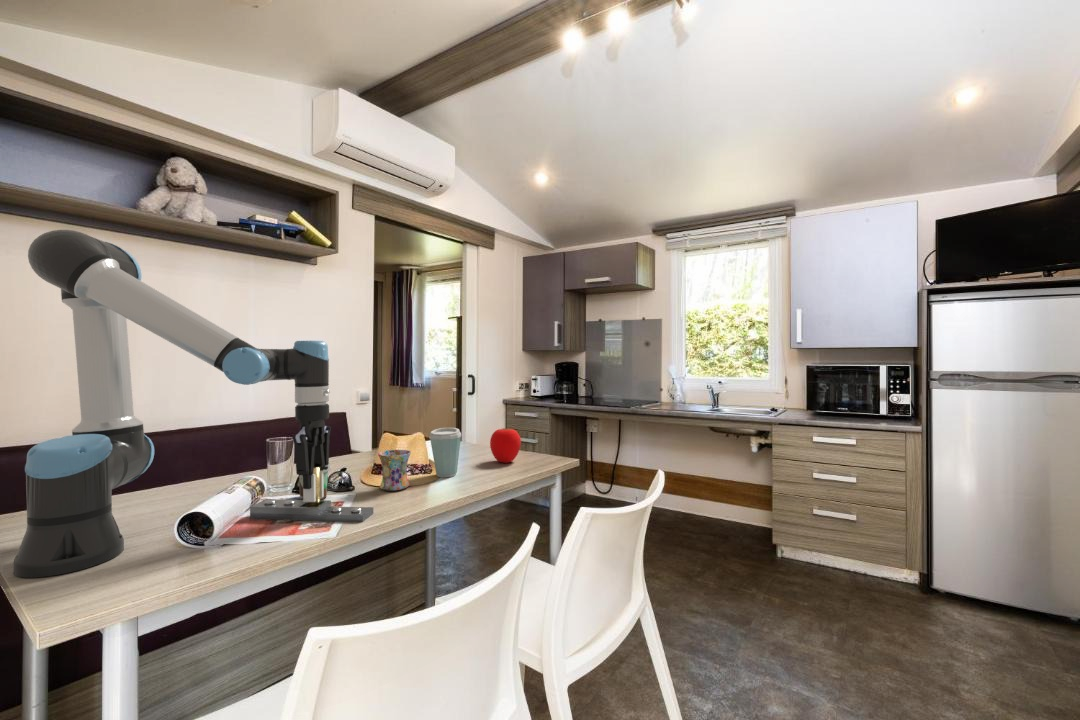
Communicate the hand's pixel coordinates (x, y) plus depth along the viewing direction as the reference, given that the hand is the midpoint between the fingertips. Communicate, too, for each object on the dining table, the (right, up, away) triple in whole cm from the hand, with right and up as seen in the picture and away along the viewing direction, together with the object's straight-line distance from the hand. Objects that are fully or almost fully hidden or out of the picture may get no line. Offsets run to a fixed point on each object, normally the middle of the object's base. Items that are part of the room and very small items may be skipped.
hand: (313, 498), depth 116 cm
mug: (+11, -4, +25) cm, 28 cm away
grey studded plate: (0, -4, 0) cm, 4 cm away
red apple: (+43, -4, +58) cm, 72 cm away
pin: (0, -4, 0) cm, 4 cm away
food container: (-6, -4, +15) cm, 17 cm away
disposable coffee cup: (+24, -4, +39) cm, 47 cm away
